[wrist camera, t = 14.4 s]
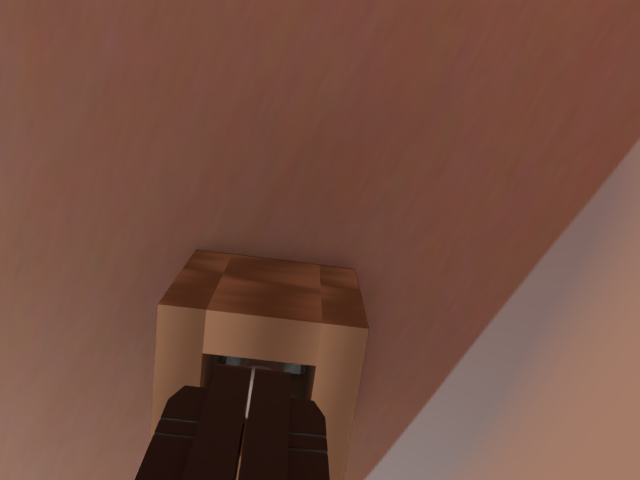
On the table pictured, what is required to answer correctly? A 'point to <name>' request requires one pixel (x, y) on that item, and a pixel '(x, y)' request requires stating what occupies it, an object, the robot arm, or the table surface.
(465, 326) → the table surface
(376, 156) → the table surface
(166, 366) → the socket block
